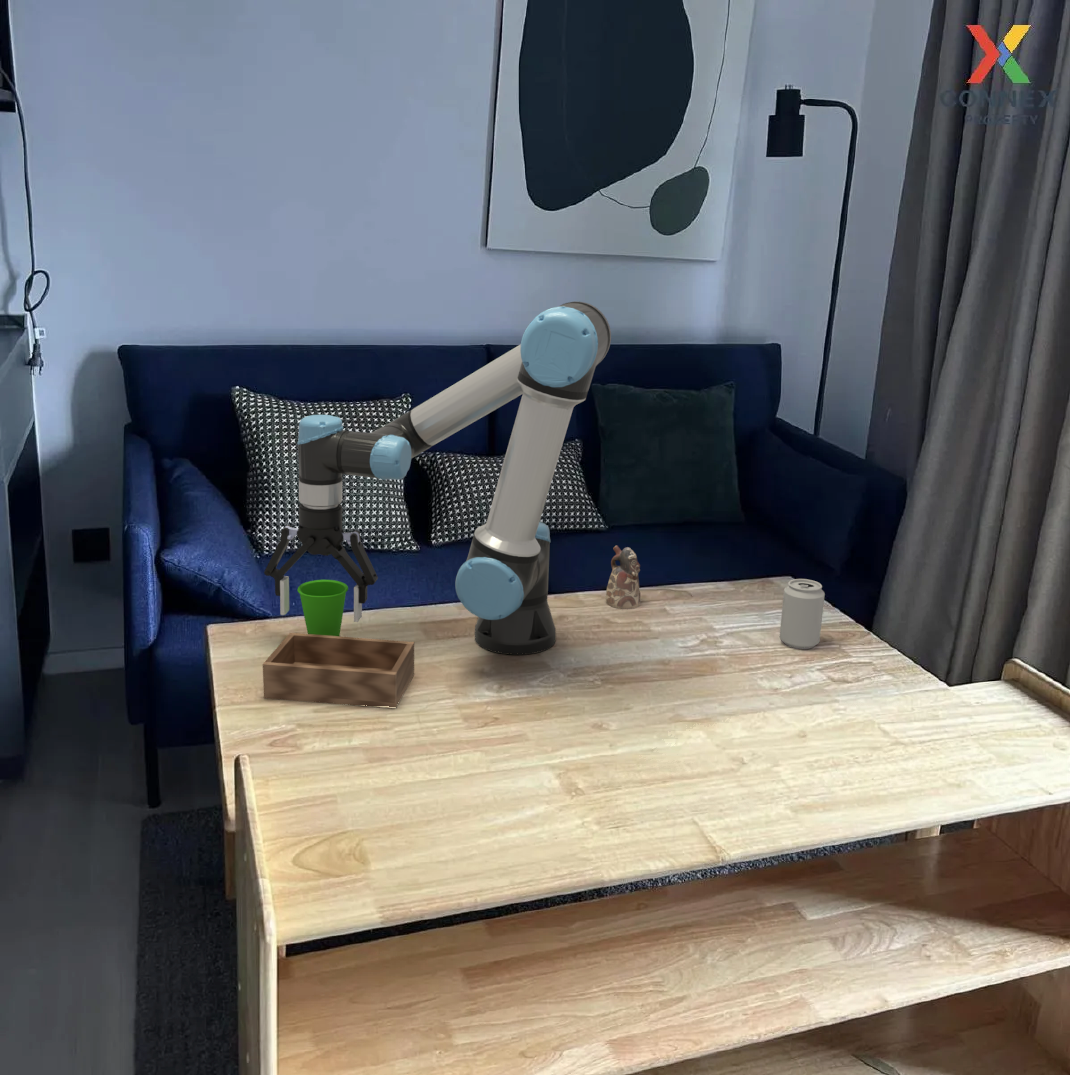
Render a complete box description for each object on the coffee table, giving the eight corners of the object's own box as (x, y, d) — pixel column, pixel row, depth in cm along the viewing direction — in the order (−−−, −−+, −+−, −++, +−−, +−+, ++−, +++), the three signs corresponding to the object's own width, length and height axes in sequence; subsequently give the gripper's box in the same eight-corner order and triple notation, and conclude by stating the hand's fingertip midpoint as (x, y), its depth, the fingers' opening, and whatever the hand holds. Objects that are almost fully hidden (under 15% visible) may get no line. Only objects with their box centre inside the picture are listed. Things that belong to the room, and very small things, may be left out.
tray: (414, 674, 204) (414, 641, 203) (395, 708, 191) (395, 674, 189) (291, 664, 207) (289, 632, 205) (263, 697, 193) (262, 664, 192)
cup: (338, 656, 211) (337, 598, 208) (291, 650, 213) (289, 593, 209) (356, 638, 219) (355, 582, 216) (310, 632, 221) (308, 577, 218)
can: (822, 640, 225) (829, 580, 222) (814, 653, 219) (821, 592, 215) (784, 632, 228) (789, 574, 225) (774, 645, 222) (780, 585, 218)
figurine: (629, 611, 237) (633, 554, 233) (599, 604, 241) (601, 548, 237) (646, 601, 243) (649, 546, 239) (616, 594, 246) (619, 539, 243)
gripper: (395, 503, 210) (393, 614, 217) (259, 492, 213) (261, 602, 219) (384, 515, 203) (383, 629, 210) (244, 503, 206) (247, 616, 212)
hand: (321, 616), depth 214 cm, fingers open, 13 cm apart
